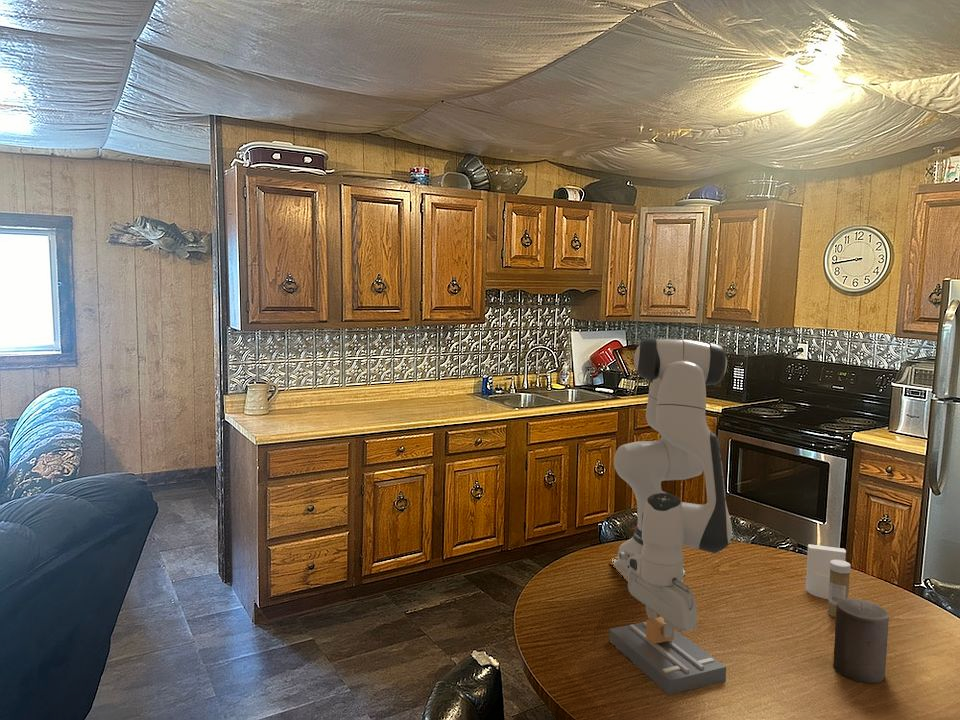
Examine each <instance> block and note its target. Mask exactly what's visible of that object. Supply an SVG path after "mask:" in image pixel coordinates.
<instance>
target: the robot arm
mask: <svg viewBox="0 0 960 720" xmlns="http://www.w3.org/2000/svg"><path fill="white" fill-rule="evenodd" d="M633 355H634V357H633V364H634V368H635V370H636V374H637V375H638V376H639V377H640V378H642V379H644V380H646V381H649V383H650V384H649V389H648V394H647V395H648V396H647V402H646V410H645V420H646V422H647V424H648V426H649V427H651V429H652V430H655V431H656V432H658V433H659V435H660V436H661V437H660V439H659V440H643V441H642V440H641V441H637V440H636V441H634V442H629V443H624V444H621V445H620V446H619V447H617V449H616V450H615V453H614V455H613V466H614V469H615V471H616V473H617V475H618V476H619V477H620V478H621V479H622V480H623V481H625V483H627V484H628V485H629V487H630V488H631V489H632V492H633V493H634V496H635V498H636V505H637V509H636V510H637V524H636V525H632V526H631V527H632V528H631V530H633V531H634V532H633V536H632V537H631V538H630V539H629V538H628V539H627V540H626V541H624V542H622V543H621V544H620V545H619V548H618V551H617V553H618V554H617V555H618V556H615V557H613V558H611V559H612V562H613V561H614V563H613V564H614V565H615V566H616V568H617V569H618V570H619V571H620V572H621V573H622V575H623V576H624V577H625V578H626V579H627V580H628V583H627V590H628V593H629V594H630V595H631V596H632V597H634V598H635V599H636V600H637V601H639V602H640V603H642V604H644V605H645V612H646V615H647V617H648V619H653V618H658V615H659V617H662V618H664V623H666V624H665V626H664V627H661V635H663V636H664V637H665V638H669V637H671V636H672V629H673V628H674V629H676V628H677V629H678V631H680V632H682V633H683V632H684V633H685V632H689V631H693V630H695V629H696V628H697V626H698V613H697V601H696V598H695V595H694V594H693V592H692V590H691V588H690V587H689V586H688V585H687V584H684V577H685V576H686V570H685V569H684V554H683V547H686V548H693V549H698V550H701V551H704V552H706V553H707V552H709V553H710V554H711V553H712V554H717V553H719V552H721V551H723V550H724V549H726V548H727V547H729V546H730V545H731V544H730V543H731V540H732V536H733V525H732V520H731V516H730V514H729V507H728V501H727V500H728V498H727V490H726V482H725V481H726V480H725V479H726V478H725V473H724V472H725V471H724V470H725V469H724V462H723V456H722V449H721V444H720V440H719V438H718V435H717V434H715V433H714V432H713V431H711V430H710V428H709V425H708V423H707V418H706V417H707V416H706V413H707V412H706V410H707V408H706V407H707V387H706V386H714V385H717V384H719V383H720V382H721V381H722V380H723V379H724V375H726V372H727V367H728V359H727V358H728V357H727V356H726V355H727V353H726V351H725V349H724V348H723V346H721V345H720V344H716V343H712V342H708V343H707V342H702V341H698V340H691V339H683V338H682V339H676V338H674V339H673V338H658V339H657V338H656V337H653V338H652V337H651V338H649V337H648V338H643V340H641V341H640V342H639V343H638V346H637V348H636V349H635V352H634V354H633ZM703 472H704V480H705V481H704V482H705V489H706V500H707V503H704V504H700V503H699V504H698V503H694V502H693V503H691V502H684V501H682V499H680V497H679V496H677V495H674V494H672V493H668V492H666V491H663V490H662V489H663V488H662V482H664V481H680V480H681V481H683V480H684V481H685V480H688V479H691V478H692V479H693V478H695V477H698V476H701V475H702V474H703ZM614 558H618V560H616V559H614ZM613 559H614V560H613ZM618 566H619V567H618ZM684 575H685V576H684ZM677 629H676V630H677Z"/></svg>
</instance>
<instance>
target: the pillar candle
mask: <svg viewBox="0 0 960 720" xmlns="http://www.w3.org/2000/svg"><path fill="white" fill-rule="evenodd" d="M889 619H890V612H888V610H887V609H885V608H884V607H882V605H881V606H880V605H878V604H876V603H875V602H873V601H868V600H864V599H860V598H847V599H842V600H840V601H838V602H837V609H836V618H835V625H834V626H835V627H834V646H833V663H832V666H833V668H834V669H835V671H836V672H838V674H840V675H842V676H844V677H846V678H848V679H850V680H853V681H856V682H859V683H866V684H867V683H868V684H876V683H877V684H878V683H881V682H882V681H884V680H885V678H886V677H885V676H886V667H887V666H886V665H887V654H888V653H887V652H888V651H887V650H888V637H889V636H888V634H889V621H890V620H889Z"/></svg>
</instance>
